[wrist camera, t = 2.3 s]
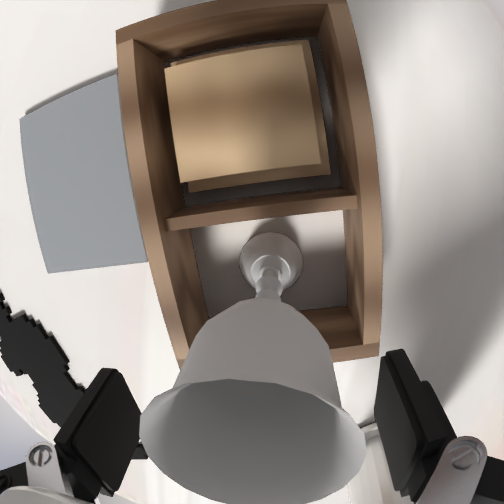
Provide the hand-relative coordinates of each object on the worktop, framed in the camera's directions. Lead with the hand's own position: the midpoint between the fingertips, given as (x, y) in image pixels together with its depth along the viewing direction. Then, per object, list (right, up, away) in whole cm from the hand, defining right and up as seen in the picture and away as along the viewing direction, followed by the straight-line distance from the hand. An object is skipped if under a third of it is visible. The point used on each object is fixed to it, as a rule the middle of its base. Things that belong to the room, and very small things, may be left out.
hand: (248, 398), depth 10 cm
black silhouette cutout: (-27, -13, +23) cm, 38 cm away
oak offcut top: (-1, +14, +10) cm, 17 cm away
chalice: (+2, +4, +15) cm, 16 cm away
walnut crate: (+1, +10, +13) cm, 17 cm away
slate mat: (-16, +11, +14) cm, 24 cm away
